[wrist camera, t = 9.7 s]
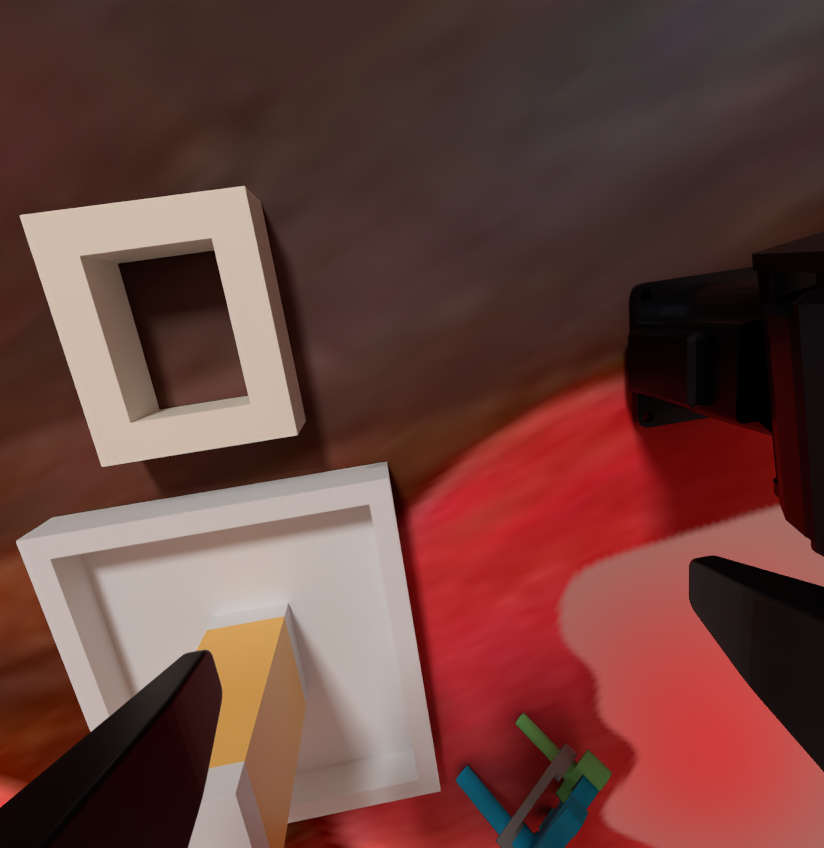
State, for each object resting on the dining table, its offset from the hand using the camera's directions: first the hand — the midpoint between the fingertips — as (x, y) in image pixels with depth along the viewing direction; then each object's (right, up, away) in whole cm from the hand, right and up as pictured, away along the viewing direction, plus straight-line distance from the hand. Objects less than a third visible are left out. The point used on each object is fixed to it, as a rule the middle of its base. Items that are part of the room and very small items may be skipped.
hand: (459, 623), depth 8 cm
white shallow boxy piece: (-10, +8, +11) cm, 16 cm away
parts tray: (-8, -7, +14) cm, 18 cm away
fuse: (-8, -8, +14) cm, 18 cm away
